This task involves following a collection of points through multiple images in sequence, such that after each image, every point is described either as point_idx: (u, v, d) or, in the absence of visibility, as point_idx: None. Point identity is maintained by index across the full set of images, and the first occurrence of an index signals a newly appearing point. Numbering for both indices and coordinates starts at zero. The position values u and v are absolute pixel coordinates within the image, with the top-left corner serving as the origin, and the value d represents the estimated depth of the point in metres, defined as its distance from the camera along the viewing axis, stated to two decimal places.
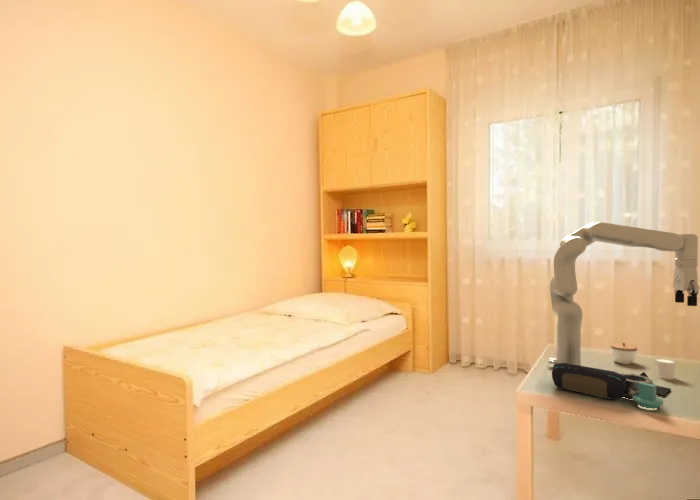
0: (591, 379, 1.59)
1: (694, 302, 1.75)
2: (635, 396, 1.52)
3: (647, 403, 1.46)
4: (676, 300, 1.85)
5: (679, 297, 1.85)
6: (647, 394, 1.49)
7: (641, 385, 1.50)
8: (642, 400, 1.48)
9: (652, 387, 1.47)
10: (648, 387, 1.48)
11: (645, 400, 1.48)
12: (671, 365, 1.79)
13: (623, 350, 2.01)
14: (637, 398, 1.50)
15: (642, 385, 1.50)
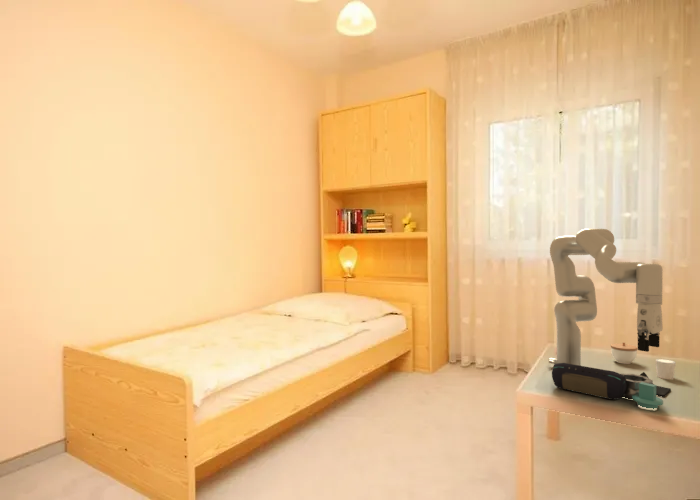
0: (591, 379, 1.59)
1: None
2: (635, 396, 1.52)
3: (647, 403, 1.46)
4: None
5: None
6: (647, 394, 1.49)
7: (641, 385, 1.50)
8: (642, 400, 1.48)
9: (652, 387, 1.47)
10: (648, 387, 1.48)
11: (645, 400, 1.48)
12: (671, 365, 1.79)
13: (623, 350, 2.01)
14: (637, 398, 1.50)
15: (642, 385, 1.50)
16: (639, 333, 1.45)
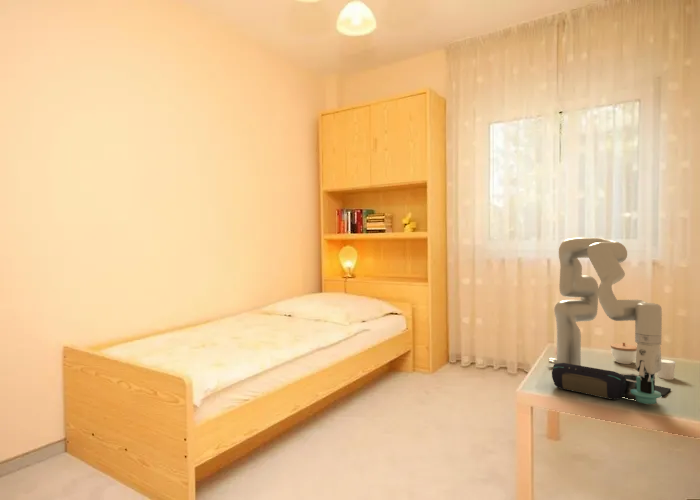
0: (591, 379, 1.59)
1: None
2: (633, 390, 1.52)
3: (645, 396, 1.47)
4: None
5: None
6: None
7: (638, 378, 1.51)
8: (640, 393, 1.48)
9: None
10: None
11: (643, 393, 1.48)
12: (671, 365, 1.79)
13: (623, 350, 2.01)
14: (635, 392, 1.50)
15: (639, 378, 1.50)
16: None
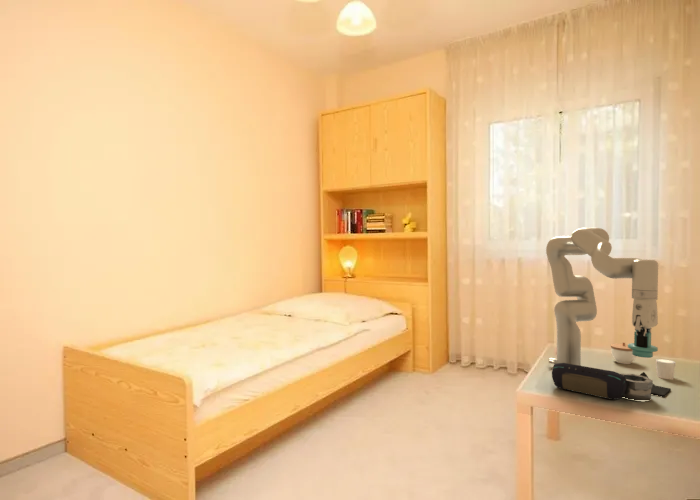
0: (591, 379, 1.59)
1: None
2: (630, 344, 1.55)
3: (642, 349, 1.49)
4: None
5: None
6: None
7: None
8: (637, 347, 1.51)
9: (647, 334, 1.50)
10: None
11: (640, 347, 1.51)
12: (671, 365, 1.79)
13: (623, 350, 2.01)
14: (632, 346, 1.53)
15: None
16: None
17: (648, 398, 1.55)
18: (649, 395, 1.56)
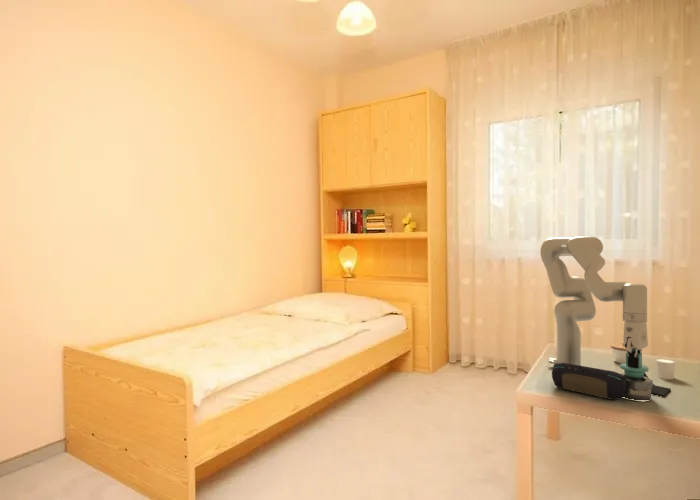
0: (591, 379, 1.59)
1: None
2: (622, 365, 1.62)
3: (633, 370, 1.56)
4: None
5: None
6: None
7: None
8: (629, 368, 1.58)
9: (638, 355, 1.58)
10: None
11: (631, 368, 1.58)
12: (671, 365, 1.79)
13: (623, 350, 2.01)
14: (624, 366, 1.60)
15: None
16: None
17: (648, 398, 1.55)
18: (649, 395, 1.56)
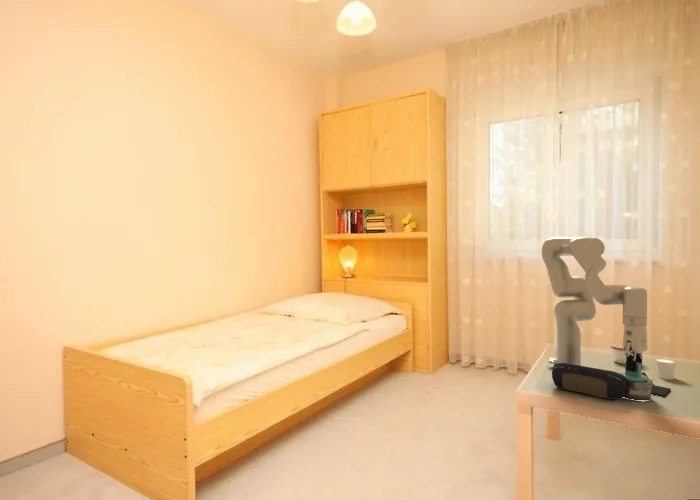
0: (591, 379, 1.59)
1: None
2: (622, 373, 1.62)
3: (632, 379, 1.57)
4: None
5: None
6: None
7: None
8: (628, 377, 1.59)
9: (637, 364, 1.58)
10: None
11: (630, 377, 1.58)
12: (671, 365, 1.79)
13: (623, 350, 2.01)
14: (623, 375, 1.60)
15: None
16: None
17: (648, 398, 1.55)
18: (649, 395, 1.56)
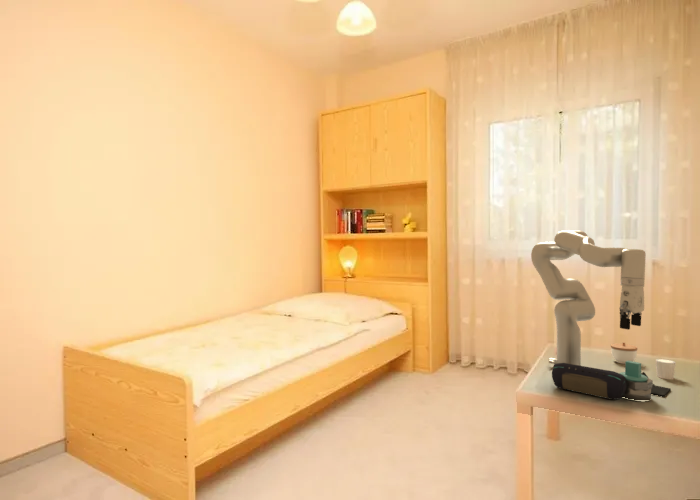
0: (591, 379, 1.59)
1: None
2: (622, 373, 1.62)
3: (632, 379, 1.57)
4: None
5: None
6: (632, 371, 1.59)
7: (627, 363, 1.61)
8: (628, 377, 1.59)
9: (637, 364, 1.58)
10: (633, 365, 1.59)
11: (630, 377, 1.58)
12: (671, 365, 1.79)
13: (623, 350, 2.01)
14: (623, 375, 1.60)
15: (628, 363, 1.60)
16: (621, 312, 1.58)
17: (648, 398, 1.55)
18: (649, 395, 1.56)
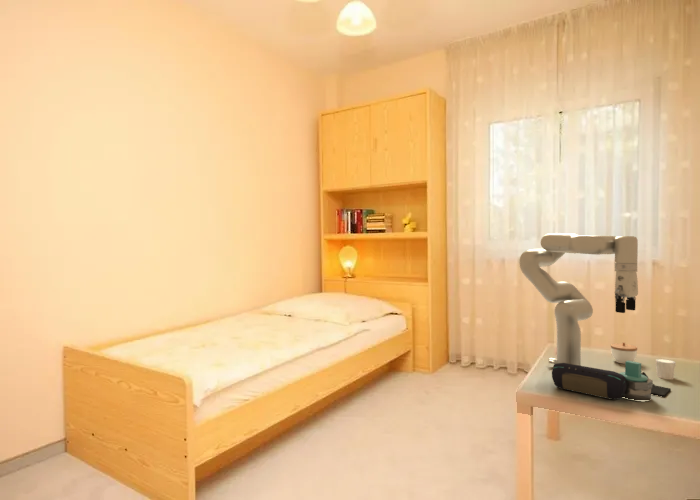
0: (591, 379, 1.59)
1: None
2: (622, 373, 1.62)
3: (632, 379, 1.57)
4: None
5: None
6: (632, 371, 1.59)
7: (627, 363, 1.61)
8: (628, 377, 1.59)
9: (637, 364, 1.58)
10: (633, 365, 1.59)
11: (630, 377, 1.58)
12: (671, 365, 1.79)
13: (623, 350, 2.01)
14: (623, 375, 1.60)
15: (628, 363, 1.60)
16: (616, 296, 1.64)
17: (648, 398, 1.55)
18: (649, 395, 1.56)
